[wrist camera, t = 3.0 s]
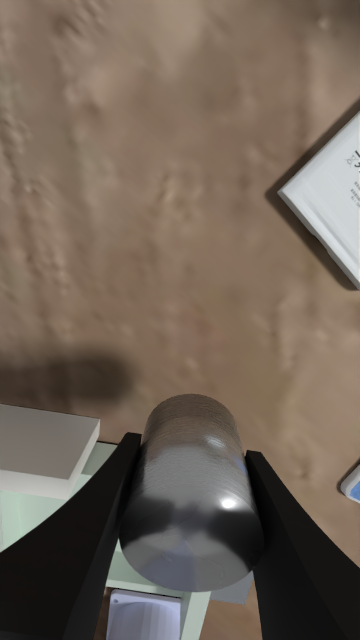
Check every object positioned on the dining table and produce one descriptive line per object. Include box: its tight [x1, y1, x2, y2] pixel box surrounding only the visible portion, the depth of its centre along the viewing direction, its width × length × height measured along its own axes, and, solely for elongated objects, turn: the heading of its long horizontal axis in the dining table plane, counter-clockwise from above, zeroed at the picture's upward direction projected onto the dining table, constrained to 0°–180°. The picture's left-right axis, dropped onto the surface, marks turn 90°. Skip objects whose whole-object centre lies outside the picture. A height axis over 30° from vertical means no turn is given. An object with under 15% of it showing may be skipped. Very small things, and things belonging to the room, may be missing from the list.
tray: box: [0, 442, 254, 640], centre depth 20 cm, size 13×19×5 cm
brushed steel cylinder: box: [119, 394, 264, 592], centre depth 11 cm, size 5×5×5 cm
